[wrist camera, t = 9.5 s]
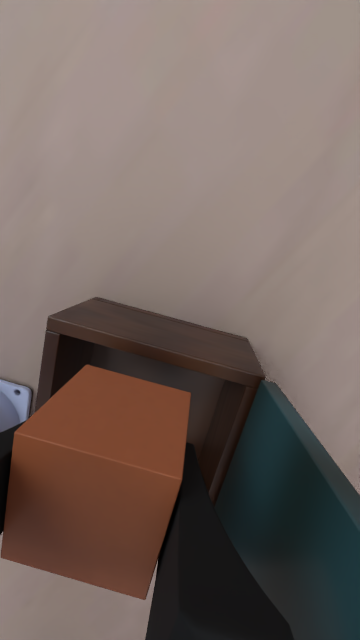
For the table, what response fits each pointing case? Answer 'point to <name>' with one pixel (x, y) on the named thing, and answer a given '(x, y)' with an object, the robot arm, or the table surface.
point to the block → (97, 480)
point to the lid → (294, 520)
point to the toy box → (161, 369)
